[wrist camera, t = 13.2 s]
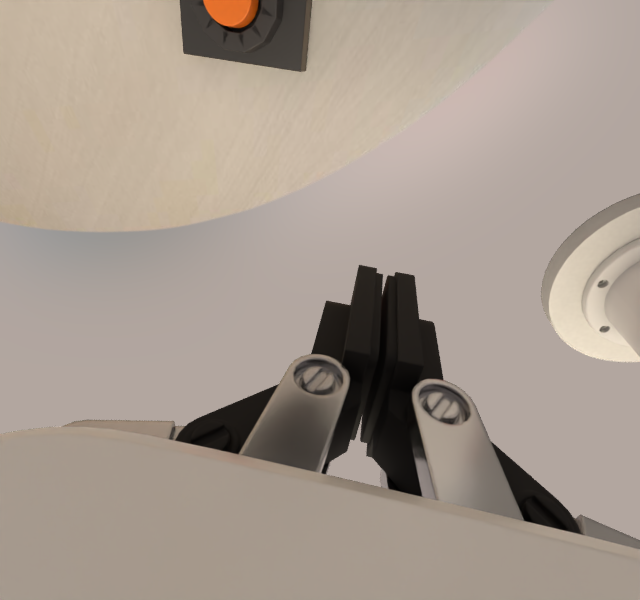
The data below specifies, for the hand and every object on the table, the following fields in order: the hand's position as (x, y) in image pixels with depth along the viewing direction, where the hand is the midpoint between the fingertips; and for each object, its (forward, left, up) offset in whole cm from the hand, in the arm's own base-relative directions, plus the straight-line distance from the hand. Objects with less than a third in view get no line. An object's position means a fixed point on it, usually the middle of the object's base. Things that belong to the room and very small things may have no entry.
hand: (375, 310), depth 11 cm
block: (+13, -9, -27) cm, 31 cm away
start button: (+13, -9, -23) cm, 28 cm away
